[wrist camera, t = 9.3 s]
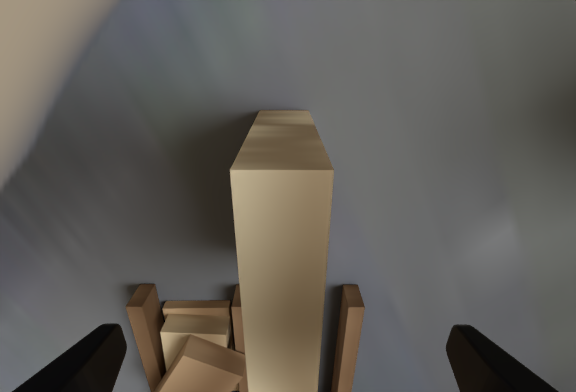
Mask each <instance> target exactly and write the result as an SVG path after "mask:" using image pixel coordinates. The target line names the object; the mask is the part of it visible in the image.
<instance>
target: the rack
mask: <svg viewBox="0 0 576 392" xmlns="http://www.w3.org/2000/svg"><path fill="white" fill-rule="evenodd" d="M364 309H365V306H364V303H363V300H362V297H361V294H360V291H359V287H358V285H343V290H342V298H341V307H340V316H339V325H338V333H337V342H336V351H335V360H334V369H333V377H332V386H331V392H351V390H352V384H353V378H354V371H355V365H356V359H357V353H358V347H359V340H360V334H361V328H362V322H363V315H364ZM126 310H127V313H128V316H129V320H130V323H131V326H132V330H133V333H134V336H135V340H136V343H137V346H138V350H139V353H140V356H141V360H142V363H143V366H144V370H145V373H146V377H147V380H148V383H149V387H150V390H151V392H154V390H155V389H156V387H157V386H158V384H159V383H160V381H161V379H162V378H163V376H164V375H165V373H166V372H167V371H166V365H165V359H164V352H163V346H162V340H161V334H160V332H161V329H162V327H163V325H164V321H163V316H162V312H161V308H160V303H159V299H158V295H157V291H156V286H155V284H140V285H139V287H138V288H137V290H136V291H135V293H134V295H133V296H132V298H131V299H130V301H129V302H128V304H127V305H126ZM232 317H233V328H234V338H235V349H236V352H239V353H242V354H244V355H245V344H244V332H243V321H242V309H241V297H240V285H239V284H236V289H235V293H234V298H233V302H232ZM239 391H240V392H248V380H247V368H246V359H245V366H244V374H243V378H242V379H241V380H240V381H239Z"/></svg>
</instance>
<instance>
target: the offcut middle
mask: <svg viewBox="0 0 576 392" xmlns="http://www.w3.org/2000/svg"><path fill="white" fill-rule="evenodd" d="M160 334H161V340H162V346H163V352H164V359H165V365H166V371H167V370H168V369H169V367H170V365H171V364H172V362H173V361H174V359H175V358H176V356H177V354H178V353H179V351H180V350H181V348H182V347H183V345H184V344H185V342H186V340H187V339H188V337H189V336H190V334H192V335H194V336H197V337H199V338H202V339H205V340H207V341H210V342H213V343H215V344H218V345H220V346H223V347H226V348H228V349H231V336H230V316H210V315H188V314H168V316H167V318H166V321H165V323H164V325H163V327H162V329H161V332H160Z"/></svg>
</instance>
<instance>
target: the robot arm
mask: <svg viewBox="0 0 576 392" xmlns="http://www.w3.org/2000/svg"><path fill="white" fill-rule="evenodd" d="M126 350H127V344H126V341H125V338H124V334H123V331H122V328H121V326H120V325H119V324H102V325H100V326H99V327H97V328H96V329H95V330H93V331H92V332H91V333H89V334H88V335H87V336H85V337H84V338H83V339H81V340H80V341H79V342H77V343H76V344H75V345H73V346H72V347H71V348H69V349H68V350H67V351H65V352H64V353H63V354H61V355H60V356H59V357H57V358H56V359H55V360H53V361H52V362H51V363H49V364H48V365H47V366H45V367H44V368H43V369H41V370H40V371H39V372H37V373H36V374H35V375H33V376H32V377H31V378H29V379H28V380H27V381H25V382H24V383H23V384H21V385H20V386H19V387H17V388H16V389H15V390H14V391H12V392H112V391H113V388H114V385H115V382H116V379H117V377H118V374H119V371H120V368H121V365H122V363H123V360H124V357H125V354H126ZM446 352H447V356H448V359H449V362H450V364H451V367H452V370H453V373H454V376H455V379H456V382H457V384H458V387H459V390H460V392H558V391H557V390H556V389H554V388H553V387H552V386H550V385H549V384H548V383H546V382H545V381H544V380H543V379H541V378H540V377H539V376H537V375H536V374H535V373H533V372H532V371H531V370H529V369H528V368H527V367H525V366H524V365H523V364H521V363H520V362H519V361H517V360H516V359H515V358H514V357H512V356H511V355H510V354H508V353H507V352H506V351H504V350H503V349H502V348H500V347H499V346H498V345H496V344H495V343H494V342H492V341H491V340H490V339H488V338H487V337H486V336H484V335H483V334H482V333H481V332H479V331H478V330H477V329H475V328H474V327H472V326H470V325H454V326H453V327H452V329H451V332H450V335H449V338H448V341H447V344H446Z"/></svg>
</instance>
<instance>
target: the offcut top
mask: <svg viewBox="0 0 576 392" xmlns="http://www.w3.org/2000/svg"><path fill="white" fill-rule="evenodd" d="M245 359H246V356H245V355H244V354H242V353H239V352H236V351H234V350H231V349H228V348H226V347H223V346H220V345H218V344H215V343H213V342H210V341H207V340H205V339H202V338H199V337H197V336H194V335H192V334H190V336H189V337H188V339H187V340H186V342H185V344H184V345H183V347H182V348H181V350H180V351H179V353H178V354H177V356H176V358H175V359H174V361H173V362H172V364H171V365H170V367H169V369H168V370H167V372H166V373H165V375H164V376H163V378H162V379H161V381H160V383H159V384H158V386H157V387H156V389H155V390H154V392H231V391H232V390H233V389H234V388H235V386H236V385H237V384H238V383H239V381H240V380H241V379H242V378H243V374H244V366H245Z"/></svg>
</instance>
